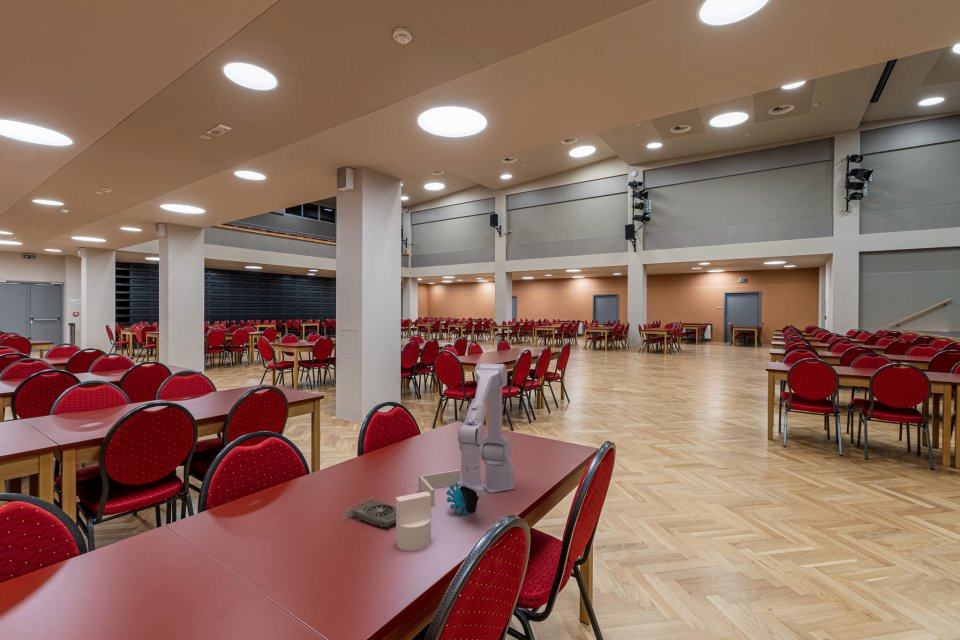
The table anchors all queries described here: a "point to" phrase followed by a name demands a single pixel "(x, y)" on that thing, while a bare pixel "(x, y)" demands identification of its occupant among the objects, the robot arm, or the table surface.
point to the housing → (438, 481)
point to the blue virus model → (456, 499)
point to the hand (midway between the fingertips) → (470, 511)
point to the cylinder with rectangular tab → (413, 521)
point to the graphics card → (372, 513)
